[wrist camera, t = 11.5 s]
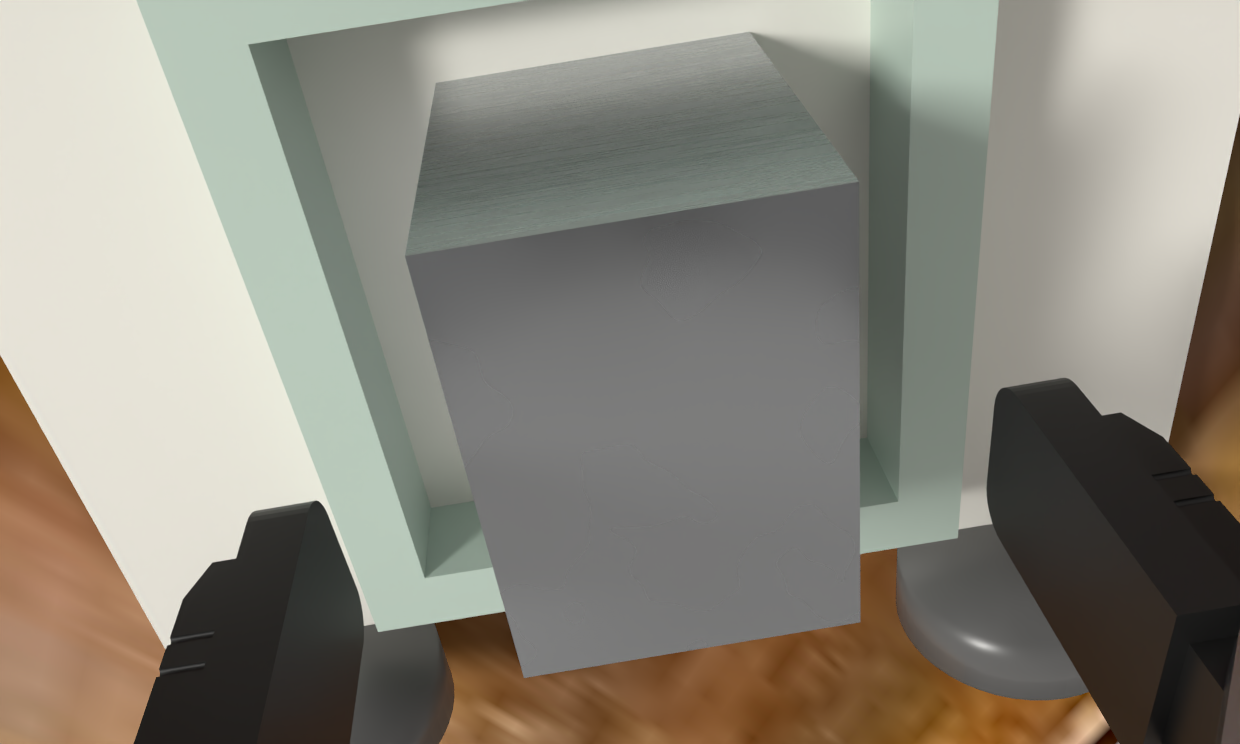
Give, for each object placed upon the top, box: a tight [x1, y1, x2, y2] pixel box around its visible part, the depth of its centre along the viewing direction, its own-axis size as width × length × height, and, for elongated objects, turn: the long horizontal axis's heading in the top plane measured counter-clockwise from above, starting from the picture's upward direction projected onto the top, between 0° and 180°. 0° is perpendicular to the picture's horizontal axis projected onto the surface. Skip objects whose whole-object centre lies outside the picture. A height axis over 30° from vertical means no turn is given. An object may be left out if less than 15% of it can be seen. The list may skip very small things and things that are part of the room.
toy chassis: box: [0, 0, 1240, 744], centre depth 17 cm, size 19×22×5 cm
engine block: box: [405, 32, 860, 678], centre depth 16 cm, size 7×5×6 cm
